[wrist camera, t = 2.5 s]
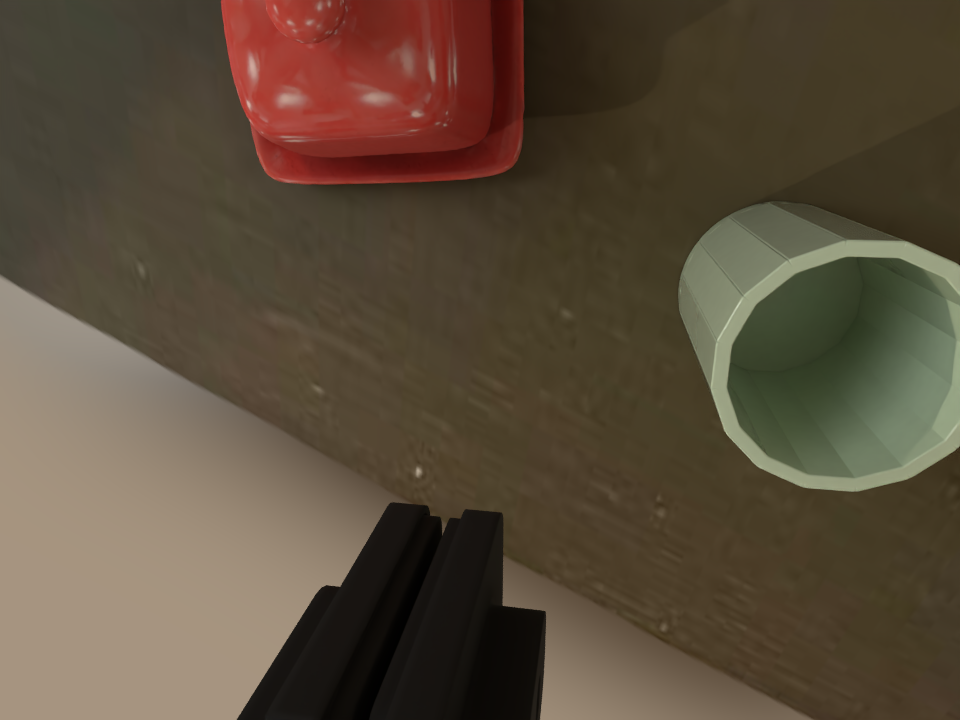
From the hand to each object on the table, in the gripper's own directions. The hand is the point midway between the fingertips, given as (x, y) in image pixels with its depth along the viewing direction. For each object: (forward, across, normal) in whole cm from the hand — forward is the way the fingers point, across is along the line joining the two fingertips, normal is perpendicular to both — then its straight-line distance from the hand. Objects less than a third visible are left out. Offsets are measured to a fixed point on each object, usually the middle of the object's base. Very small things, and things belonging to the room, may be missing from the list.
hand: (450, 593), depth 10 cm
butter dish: (+21, +7, -10) cm, 24 cm away
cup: (+21, -9, 0) cm, 23 cm away
